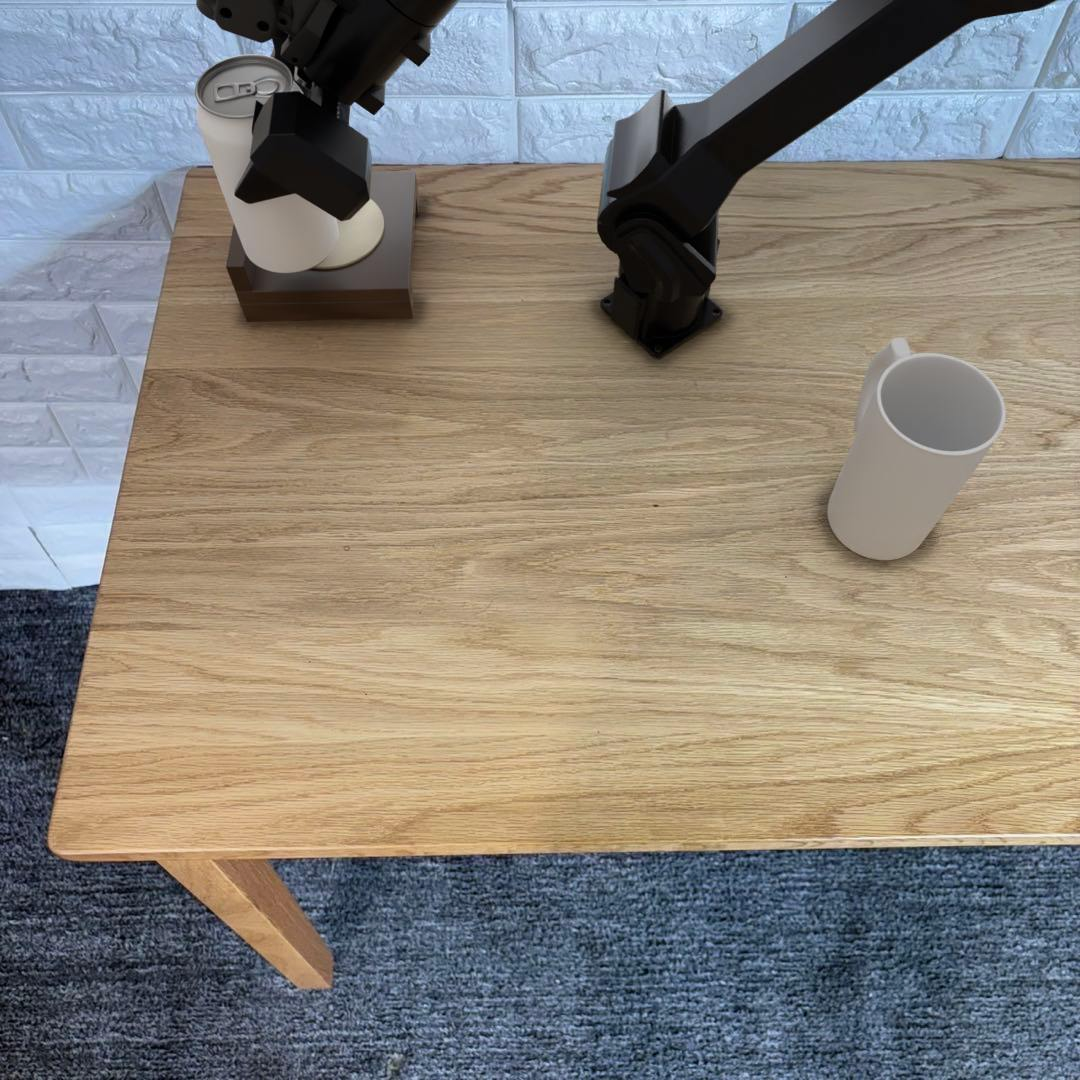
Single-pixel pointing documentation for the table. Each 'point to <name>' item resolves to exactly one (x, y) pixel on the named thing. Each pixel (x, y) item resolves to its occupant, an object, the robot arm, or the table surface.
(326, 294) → the coaster holder tray
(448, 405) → the table surface
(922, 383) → the mug
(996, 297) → the table surface
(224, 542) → the table surface
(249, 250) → the can
